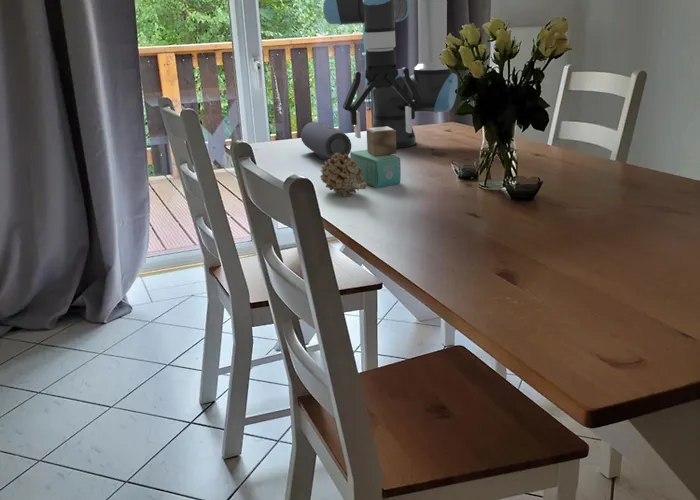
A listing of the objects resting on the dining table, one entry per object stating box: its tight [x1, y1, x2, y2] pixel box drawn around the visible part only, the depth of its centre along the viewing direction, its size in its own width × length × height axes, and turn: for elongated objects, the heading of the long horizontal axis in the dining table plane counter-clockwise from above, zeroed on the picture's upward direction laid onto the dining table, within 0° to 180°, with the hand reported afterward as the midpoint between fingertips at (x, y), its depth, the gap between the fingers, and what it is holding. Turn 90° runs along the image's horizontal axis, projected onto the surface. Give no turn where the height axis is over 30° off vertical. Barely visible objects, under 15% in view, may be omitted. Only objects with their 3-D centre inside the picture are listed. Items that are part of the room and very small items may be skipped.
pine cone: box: [319, 153, 368, 197], centre depth 169 cm, size 22×10×10 cm, turn 28°
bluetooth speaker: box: [300, 121, 352, 162], centre depth 212 cm, size 23×9×10 cm, turn 22°
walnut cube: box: [366, 126, 397, 156], centre depth 181 cm, size 6×6×6 cm
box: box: [349, 149, 402, 189], centre depth 182 cm, size 7×14×8 cm, turn 31°
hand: (383, 134), depth 181 cm, fingers open, 13 cm apart
